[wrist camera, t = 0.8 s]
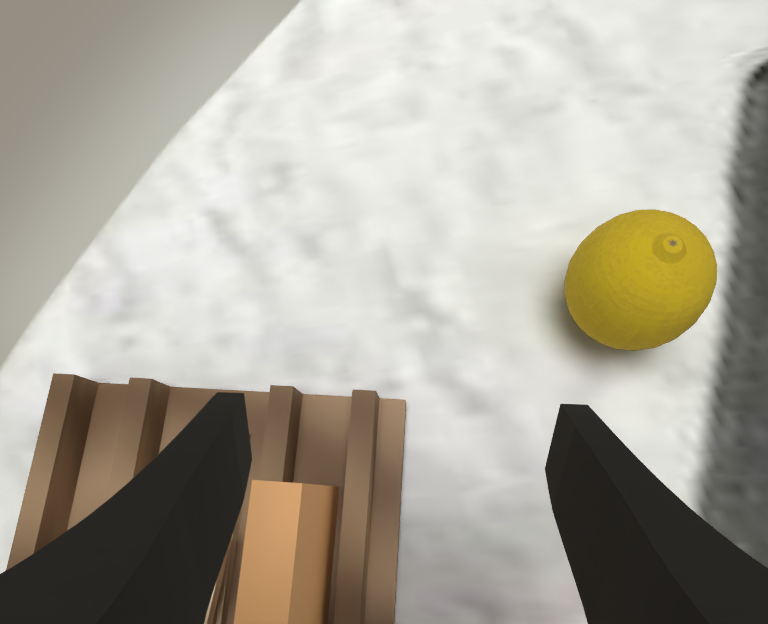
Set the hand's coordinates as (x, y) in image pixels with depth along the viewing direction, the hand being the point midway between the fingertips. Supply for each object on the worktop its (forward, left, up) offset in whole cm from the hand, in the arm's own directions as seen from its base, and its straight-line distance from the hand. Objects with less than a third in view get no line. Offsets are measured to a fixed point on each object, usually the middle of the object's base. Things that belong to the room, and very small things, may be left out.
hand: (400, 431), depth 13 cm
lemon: (+8, -9, -14) cm, 19 cm away
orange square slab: (-5, +4, -13) cm, 15 cm away
